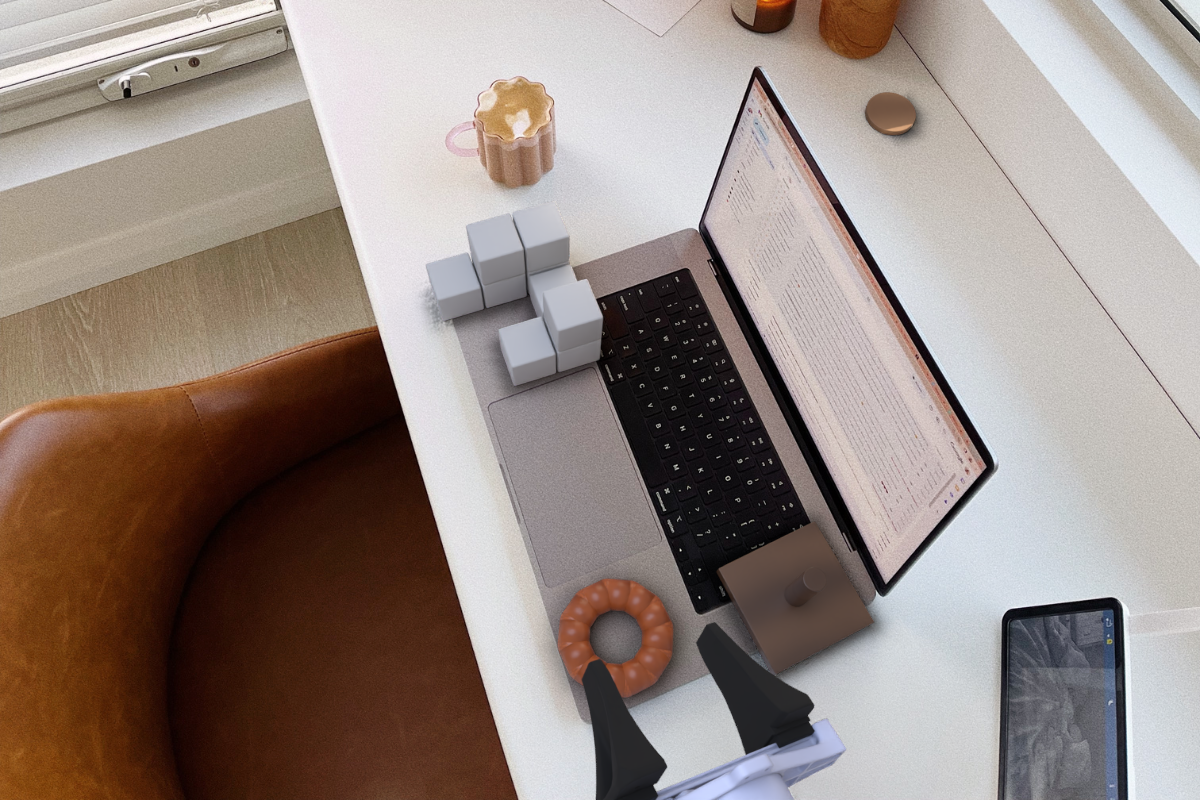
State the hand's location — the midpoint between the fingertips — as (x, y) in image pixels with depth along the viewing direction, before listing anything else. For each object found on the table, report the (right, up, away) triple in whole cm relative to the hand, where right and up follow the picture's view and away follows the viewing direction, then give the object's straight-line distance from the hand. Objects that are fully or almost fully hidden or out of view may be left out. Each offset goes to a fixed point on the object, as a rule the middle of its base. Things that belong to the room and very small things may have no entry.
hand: (650, 650), depth 52 cm
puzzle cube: (-11, +21, +30) cm, 38 cm away
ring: (-2, -4, +18) cm, 19 cm away
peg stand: (+12, -2, +21) cm, 25 cm away
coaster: (+26, +43, +40) cm, 65 cm away
